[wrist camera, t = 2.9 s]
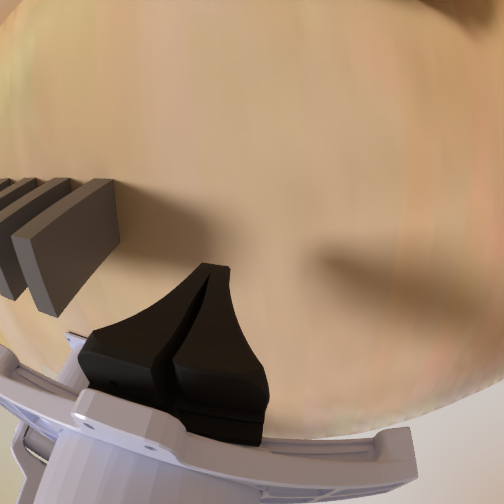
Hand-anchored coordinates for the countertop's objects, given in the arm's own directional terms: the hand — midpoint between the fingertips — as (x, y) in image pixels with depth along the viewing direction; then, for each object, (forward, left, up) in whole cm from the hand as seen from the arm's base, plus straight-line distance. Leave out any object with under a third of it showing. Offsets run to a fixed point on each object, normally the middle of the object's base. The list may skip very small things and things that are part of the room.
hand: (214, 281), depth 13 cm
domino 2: (0, +14, -6) cm, 15 cm away
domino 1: (0, +9, -6) cm, 11 cm away
